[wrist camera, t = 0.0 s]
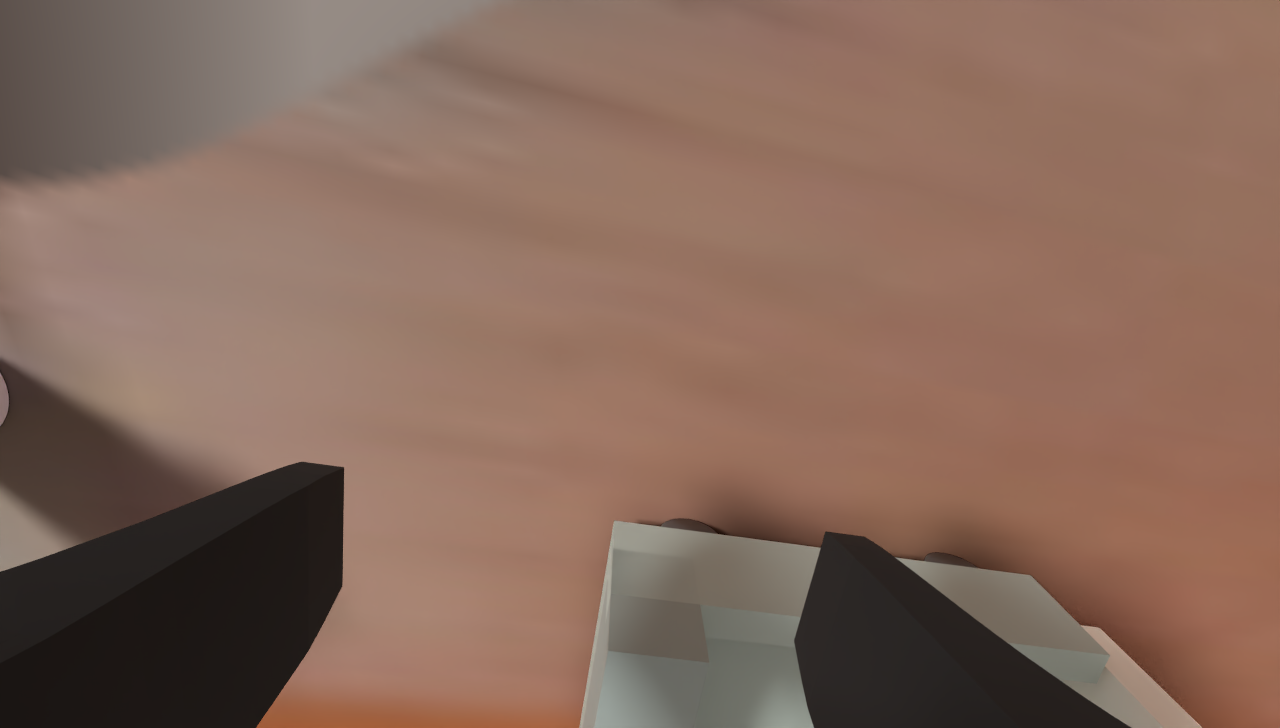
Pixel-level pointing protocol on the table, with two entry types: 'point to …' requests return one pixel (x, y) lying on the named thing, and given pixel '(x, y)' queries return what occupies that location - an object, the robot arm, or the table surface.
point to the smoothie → (3, 400)
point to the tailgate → (1130, 691)
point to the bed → (765, 627)
